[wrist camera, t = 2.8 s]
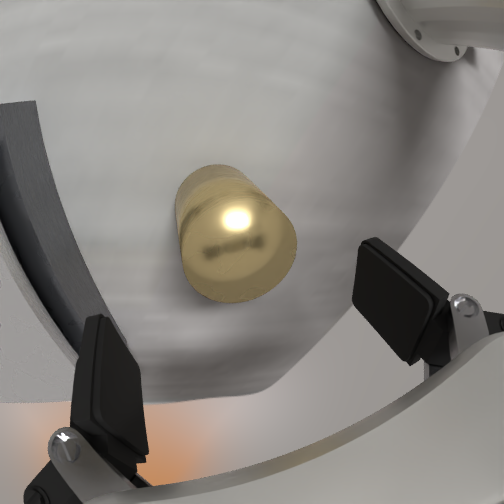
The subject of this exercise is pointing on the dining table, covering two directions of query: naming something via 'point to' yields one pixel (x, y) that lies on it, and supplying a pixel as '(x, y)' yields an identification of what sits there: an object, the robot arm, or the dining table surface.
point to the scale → (43, 226)
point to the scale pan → (29, 340)
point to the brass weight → (231, 236)
